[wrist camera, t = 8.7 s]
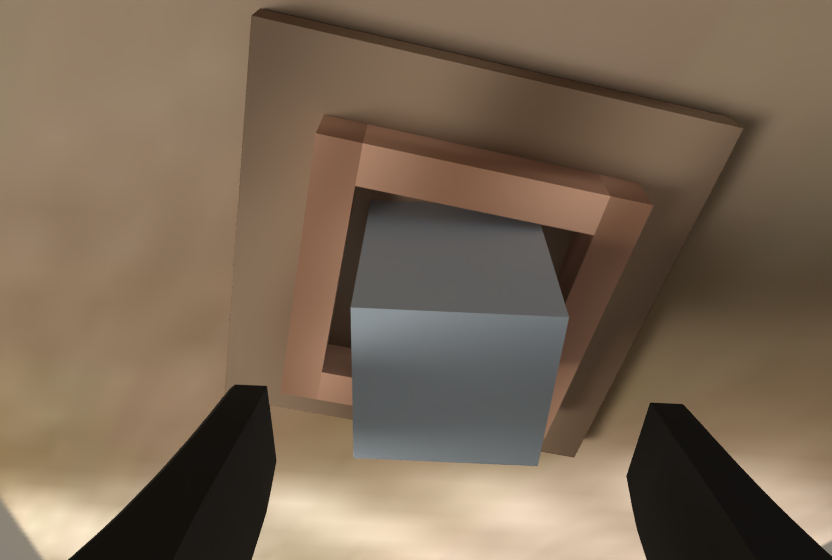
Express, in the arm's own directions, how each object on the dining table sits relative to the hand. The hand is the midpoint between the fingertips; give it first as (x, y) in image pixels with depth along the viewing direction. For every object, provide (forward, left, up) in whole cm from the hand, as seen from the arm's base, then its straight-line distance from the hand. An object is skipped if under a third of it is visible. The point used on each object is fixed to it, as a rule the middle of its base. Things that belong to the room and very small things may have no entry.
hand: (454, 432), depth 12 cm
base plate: (0, 0, -6) cm, 6 cm away
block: (0, 0, -5) cm, 5 cm away
